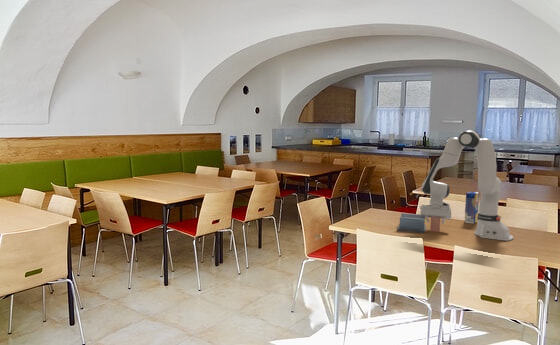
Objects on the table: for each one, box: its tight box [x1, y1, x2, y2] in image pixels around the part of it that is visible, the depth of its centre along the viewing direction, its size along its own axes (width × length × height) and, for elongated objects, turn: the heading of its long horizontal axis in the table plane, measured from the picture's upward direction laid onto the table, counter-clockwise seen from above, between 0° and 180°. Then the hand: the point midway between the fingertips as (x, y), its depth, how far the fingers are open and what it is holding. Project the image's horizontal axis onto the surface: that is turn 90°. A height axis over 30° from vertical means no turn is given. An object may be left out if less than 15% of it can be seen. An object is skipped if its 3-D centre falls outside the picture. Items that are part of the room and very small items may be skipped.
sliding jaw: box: [400, 212, 426, 225], centre depth 304 cm, size 16×2×7 cm, turn 70°
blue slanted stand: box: [396, 216, 427, 234], centre depth 298 cm, size 18×20×8 cm
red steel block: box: [429, 217, 441, 233], centre depth 292 cm, size 6×4×9 cm
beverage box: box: [463, 191, 480, 224], centre depth 321 cm, size 7×11×22 cm, turn 144°
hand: (435, 222), depth 292 cm, fingers open, 8 cm apart
